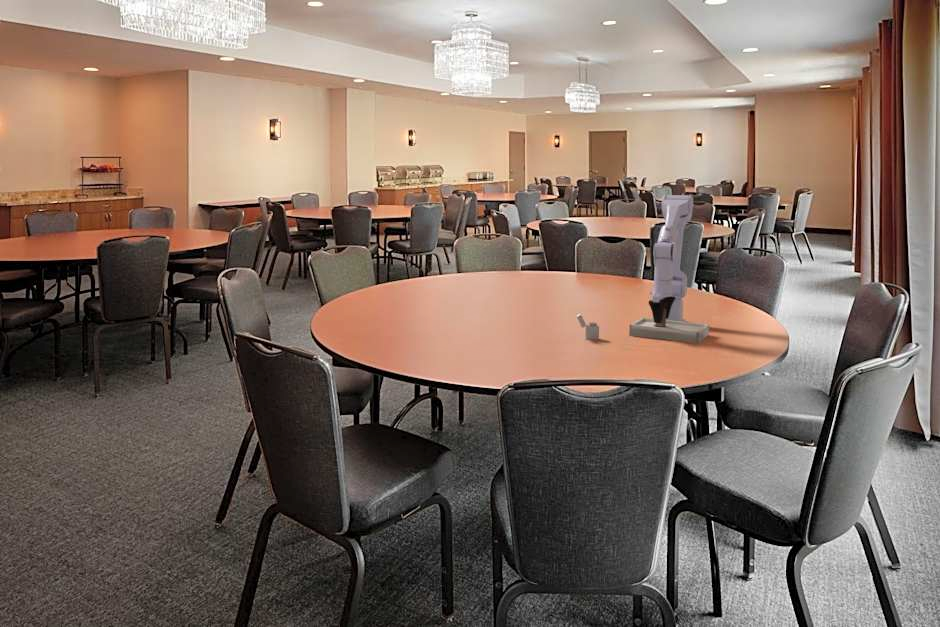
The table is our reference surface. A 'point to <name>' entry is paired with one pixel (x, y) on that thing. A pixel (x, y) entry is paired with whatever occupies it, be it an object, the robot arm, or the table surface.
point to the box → (670, 330)
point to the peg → (663, 323)
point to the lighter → (590, 329)
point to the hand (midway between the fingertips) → (661, 320)
